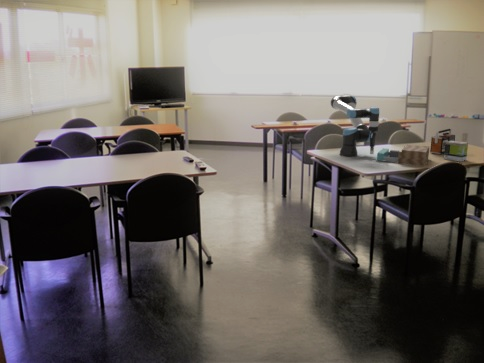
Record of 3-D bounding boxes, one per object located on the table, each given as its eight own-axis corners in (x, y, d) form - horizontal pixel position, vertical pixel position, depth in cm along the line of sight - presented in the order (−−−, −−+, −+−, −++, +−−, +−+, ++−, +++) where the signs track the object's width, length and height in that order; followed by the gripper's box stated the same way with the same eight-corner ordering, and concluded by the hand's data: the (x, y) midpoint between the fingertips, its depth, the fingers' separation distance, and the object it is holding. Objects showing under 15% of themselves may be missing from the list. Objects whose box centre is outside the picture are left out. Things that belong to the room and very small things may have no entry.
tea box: (466, 160, 411) (468, 142, 407) (460, 161, 404) (463, 144, 400) (449, 157, 421) (451, 140, 418) (443, 159, 415) (445, 141, 411)
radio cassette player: (440, 155, 431) (443, 132, 426) (428, 153, 438) (431, 131, 433) (454, 150, 451) (456, 129, 446) (442, 149, 458) (445, 127, 453)
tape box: (389, 158, 410) (389, 150, 408) (390, 156, 414) (390, 149, 413) (398, 158, 407) (398, 151, 405) (398, 157, 411) (399, 150, 410)
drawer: (376, 160, 405) (377, 153, 404) (382, 155, 426) (382, 148, 425) (405, 163, 396) (406, 155, 394) (410, 157, 417) (410, 150, 415)
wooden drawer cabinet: (397, 163, 396) (399, 149, 394) (403, 157, 421) (404, 144, 418) (424, 165, 388) (425, 152, 385) (428, 159, 412) (429, 146, 410)
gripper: (376, 127, 405) (374, 155, 411) (379, 125, 416) (377, 153, 422) (367, 126, 408) (365, 154, 414) (370, 125, 419) (368, 152, 425)
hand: (371, 154), depth 418 cm, fingers closed
